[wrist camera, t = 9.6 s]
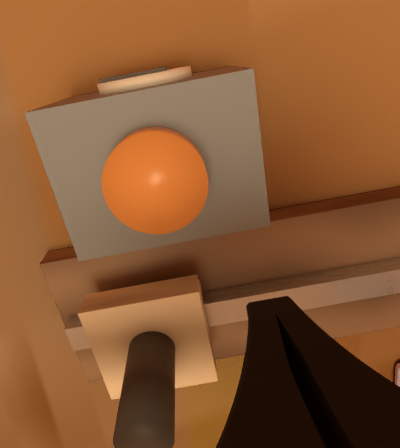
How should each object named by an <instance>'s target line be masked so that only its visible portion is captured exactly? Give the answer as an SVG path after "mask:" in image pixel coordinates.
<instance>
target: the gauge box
mask: <svg viewBox="0 0 400 448" xmlns="http://www.w3.org/2000/svg"><path fill="white" fill-rule="evenodd" d="M99 81H100V83H99V84H97V87H98V90H99V92H94V93H89V94H84V95H79V96H74V97H70V98H67V99H64V100H61V101H58V102H55V103H52V104H49V105H46V106H43V107H40V108H37V109H34V110H31V111H28V112H25V116H26V118H27V121H28V124H29V127H30V129H31V132H32V135H33V137H34V140H35V143H36V146H37V148H38V151H39V154H40V157H41V159H42V162H43V165H44V168H45V170H46V173H47V176H48V179H49V181H50V184H51V187H52V189H53V192H54V195H55V198H56V200H57V203H58V206H59V209H60V211H61V214H62V217H63V220H64V222H65V225H66V228H67V231H68V233H69V236H70V239H71V241H72V244H73V247H74V250H75V252H76V255H77V258H78V261H83V260H89V259H94V258H100V257H105V256H111V255H116V254H121V253H127V252H132V251H138V250H143V249H149V248H154V247H160V246H165V245H170V244H176V243H181V242H187V241H192V240H198V239H203V238H208V237H214V236H219V235H225V234H230V233H236V232H241V231H246V230H252V229H257V228H263V227H268V226H270V216H269V207H268V198H267V188H266V179H265V170H264V160H263V151H262V142H261V132H260V123H259V113H258V104H257V95H256V85H255V76H254V68H246V67H236V66H228V67H223V68H218V69H213V70H207V71H202V72H197V73H192V72H191V66H184V67H179V68H173V69H168V70H167V67H161V68H156V69H151V70H146V71H141V72H136V73H130V74H125V75H120V76H115V77H110V78H105V79H100V80H99ZM152 126H157V127H166V128H170V129H173V130H175V131H178V132H180V133H181V134H183V135H185V136H186V137H187V138H188V139H190V140H191V141H192V142H193V143H194V144H195V146H196V147H197V148H198V150H199V152H200V153H201V155H202V158H203V160H204V163H205V167H206V171H207V175H208V183H209V184H208V195H207V199H206V202H205V204H204V206H203V208H202V210H201V212H200V213H199V214H198V216H197V217H196V218H195V219H194V220H193V221H192V222H191V223H189V224H188V225H187V226H185V227H183V228H181V229H179V230H177V231H174V232H171V233H167V234H147V233H142V232H139V231H136V230H134V229H132V228H130V227H128V226H126V225H125V224H123V223H122V222H121V221H120V220H118V219H117V218H116V216H115V215H114V214H113V213H112V212H111V210H110V209H109V207H108V205H107V203H106V201H105V199H104V196H103V191H102V183H101V182H102V172H103V168H104V165H105V163H106V161H107V159H108V157H109V155H110V154H111V153H112V151H113V150H114V148H115V147H116V146H117V144H118V143H119V142H120V141H121V140H122V139H123V138H124V137H126V136H127V135H128V134H130V133H132V132H133V131H136V130H138V129H141V128H145V127H152Z"/></svg>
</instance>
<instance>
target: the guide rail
mask: <svg viewBox="0 0 400 448" xmlns="http://www.w3.org/2000/svg"><path fill="white" fill-rule="evenodd" d="M396 293H400V256H399V257H394V258H388V259H383V260H377V261H372V262H366V263H361V264H355V265H350V266H344V267H339V268H333V269H328V270H322V271H316V272H311V273H305V274H300V275H294V276H289V277H283V278H278V279H272V280H267V281H261V282H256V283H250V284H245V285H239V286H233V287H228V288H222V289H217V290H211V291H206V292H202V295H203V304H204V309H205V314H206V318H207V323H208V327H211V326H217V325H223V324H228V323H234V322H239V321H245V320H248V315H247V309H246V306H247V304H248V303H249V302H255V301H260V300H266V299H272V298H277V297H283V296H289V297H290V298H291V299H292V300H293V301H294V302H295V303H296V304H297V305H298V306H299V307H300V308H301V309H302V310H307V309H312V308H318V307H323V306H329V305H335V304H340V303H346V302H351V301H357V300H363V299H368V298H374V297H379V296H385V295H391V294H396ZM64 330H65V333H66V335H67V338H68V340H69V342H70V345H71V347H72V349H73V351H77V350H82V349H88V348H91V346H90V344H89V341H88V339H87V336H86V334H85V331H84V328H83V326H82V323H81V321H80V318H79V316H78V315H73V316H70V317H69V320H68V322H67V324H66V327H65V329H64Z"/></svg>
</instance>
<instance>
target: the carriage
mask: <svg viewBox="0 0 400 448" xmlns="http://www.w3.org/2000/svg"><path fill="white" fill-rule="evenodd" d="M78 316H79V318H80V321H81V323H82V326H83V328H84V331H85V334H86V336H87V339H88V341H89V344H90V346H91V349H92V351H93V354H94V356H95V359H96V361H97V364H98V367H99V369H100V372H101V374H102V377H103V379H104V382H105V384H106V387H107V389H108V392H109V394H110V397H111V399H118V398H120V402H119V408H118V413H117V419H116V425H115V431H114V437H113V444H114V447H115V448H172V447H173V445H174V428H175V388H181V387H186V386H192V385H198V384H203V383H209V382H215V381H218V377H217V369H216V361H215V356H214V351H213V346H212V339H211V331H210V327H208V323H207V318H206V314H205V309H204V304H203V295H202V288H201V283H200V279H198V276H197V274H196V275H190V276H185V277H179V278H174V279H168V280H163V281H157V282H152V283H146V284H141V285H135V286H130V287H125V288H119V289H114V290H108V291H103V292H97V293H92V294H86V295H85V297H84V299H83V302H82V304H81V307H80V309H79V312H78Z"/></svg>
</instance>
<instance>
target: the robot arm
mask: <svg viewBox="0 0 400 448" xmlns="http://www.w3.org/2000/svg"><path fill="white" fill-rule="evenodd" d="M246 309H247V315H248V335H247V344H246V352H245V357H244V362H243V367H242V372H241V377H240V381H239V385H238V388H237V392H236V395H235V399H234V402H233V405H232V408H231V411H230V413H229V416H228V419H227V422H226V425H225V427H224V430H223V432H222V435H221V437H220V439H219V442H218V444H217V446H216V448H400V362H399V363H398V364H397V365H396V371H395V384H394V383H393V382H391V381H390V380H388V379H386V378H385V377H383V376H382V375H381V374H379V373H378V372H376V371H375V370H373V369H372V368H370V367H369V366H367V365H366V364H365V363H363V362H362V361H361V360H359V359H358V358H356V357H355V356H354V355H353V354H351V353H350V352H349V351H348V350H346V349H345V348H344V347H342V346H341V345H340V344H339V343H338V342H336V341H335V340H334V339H333V338H332V337H331V336H329V335H328V334H327V333H326V332H325V331H324V330H323V329H321V328H320V327H319V326H318V325H317V324H316V323H315V322H314V321H313V320H312V319H311V318H310V317H309V316H308V315H307V314H306V313H305V312H304V311H303V310H302V309H301V308H300V307H299V306H298V305H297V304H296V303H295V302H294V301H293V300H292V299H291V298H290V297H289V296H283V297H277V298H272V299H266V300H260V301H255V302H249V303H248V304H247V306H246Z"/></svg>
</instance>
